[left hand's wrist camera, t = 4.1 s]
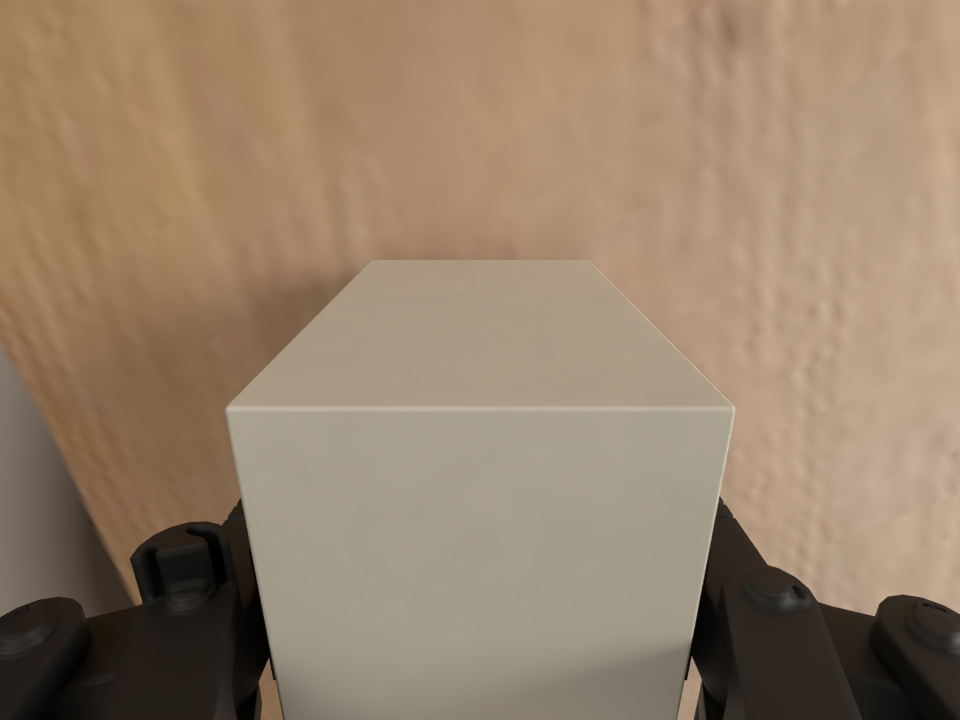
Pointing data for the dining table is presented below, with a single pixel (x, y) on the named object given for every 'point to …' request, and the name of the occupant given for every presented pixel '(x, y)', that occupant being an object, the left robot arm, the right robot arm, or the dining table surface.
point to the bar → (480, 498)
